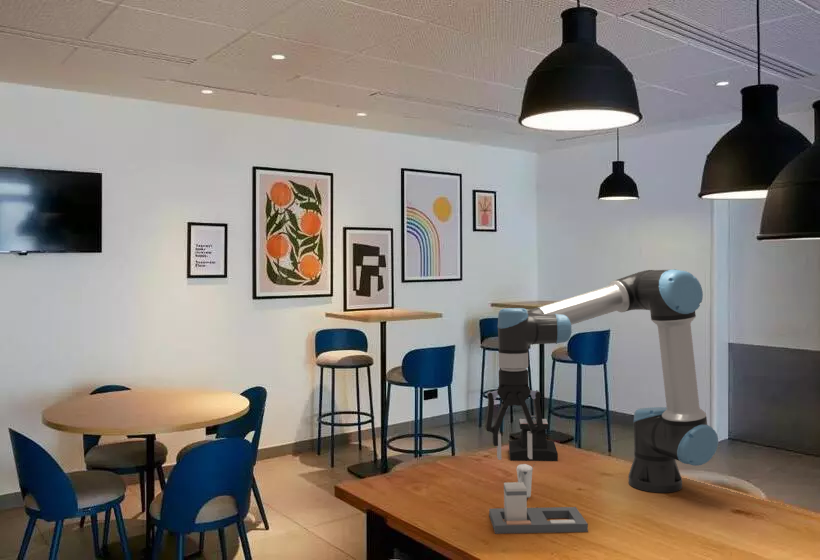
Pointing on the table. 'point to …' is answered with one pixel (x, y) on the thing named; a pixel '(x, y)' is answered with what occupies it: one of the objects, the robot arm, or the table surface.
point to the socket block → (540, 521)
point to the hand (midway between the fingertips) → (514, 457)
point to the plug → (515, 501)
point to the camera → (540, 451)
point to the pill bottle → (525, 476)
